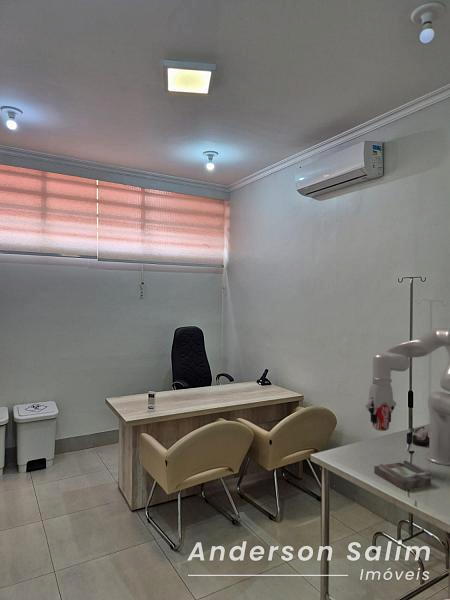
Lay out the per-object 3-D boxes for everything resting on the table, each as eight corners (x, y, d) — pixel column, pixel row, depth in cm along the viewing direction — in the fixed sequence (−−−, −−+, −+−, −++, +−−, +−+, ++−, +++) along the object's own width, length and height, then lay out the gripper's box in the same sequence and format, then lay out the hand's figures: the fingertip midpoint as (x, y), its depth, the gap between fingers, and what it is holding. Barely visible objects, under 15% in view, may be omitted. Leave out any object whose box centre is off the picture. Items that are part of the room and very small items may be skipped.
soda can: (378, 432, 171) (379, 404, 171) (368, 427, 178) (369, 400, 178) (392, 431, 172) (393, 403, 173) (382, 426, 179) (382, 400, 179)
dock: (400, 469, 171) (400, 457, 171) (430, 485, 156) (431, 473, 156) (374, 473, 166) (374, 461, 167) (403, 490, 151) (403, 477, 152)
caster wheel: (420, 452, 200) (406, 442, 210) (438, 446, 203) (424, 436, 213) (420, 440, 199) (406, 431, 209) (438, 434, 202) (423, 425, 211)
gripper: (391, 379, 182) (390, 418, 181) (359, 381, 176) (359, 421, 176) (403, 382, 175) (402, 422, 174) (371, 384, 169) (370, 426, 169)
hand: (380, 421), depth 175 cm, fingers closed on soda can, 7 cm apart
